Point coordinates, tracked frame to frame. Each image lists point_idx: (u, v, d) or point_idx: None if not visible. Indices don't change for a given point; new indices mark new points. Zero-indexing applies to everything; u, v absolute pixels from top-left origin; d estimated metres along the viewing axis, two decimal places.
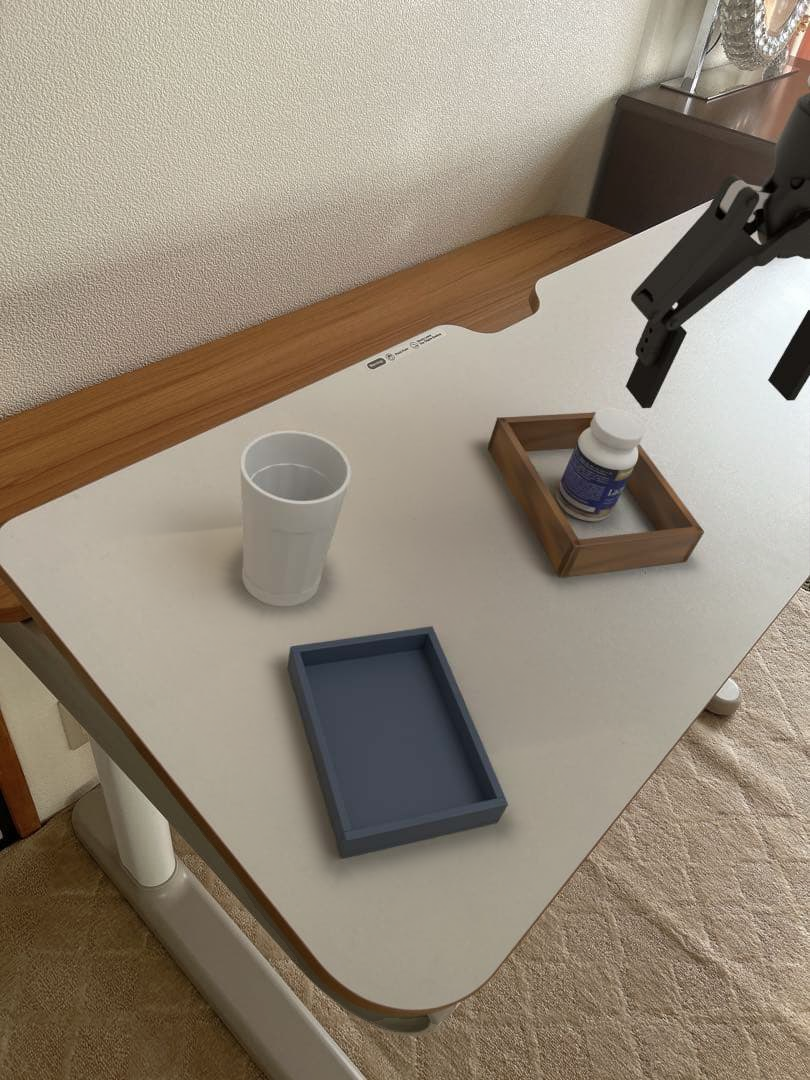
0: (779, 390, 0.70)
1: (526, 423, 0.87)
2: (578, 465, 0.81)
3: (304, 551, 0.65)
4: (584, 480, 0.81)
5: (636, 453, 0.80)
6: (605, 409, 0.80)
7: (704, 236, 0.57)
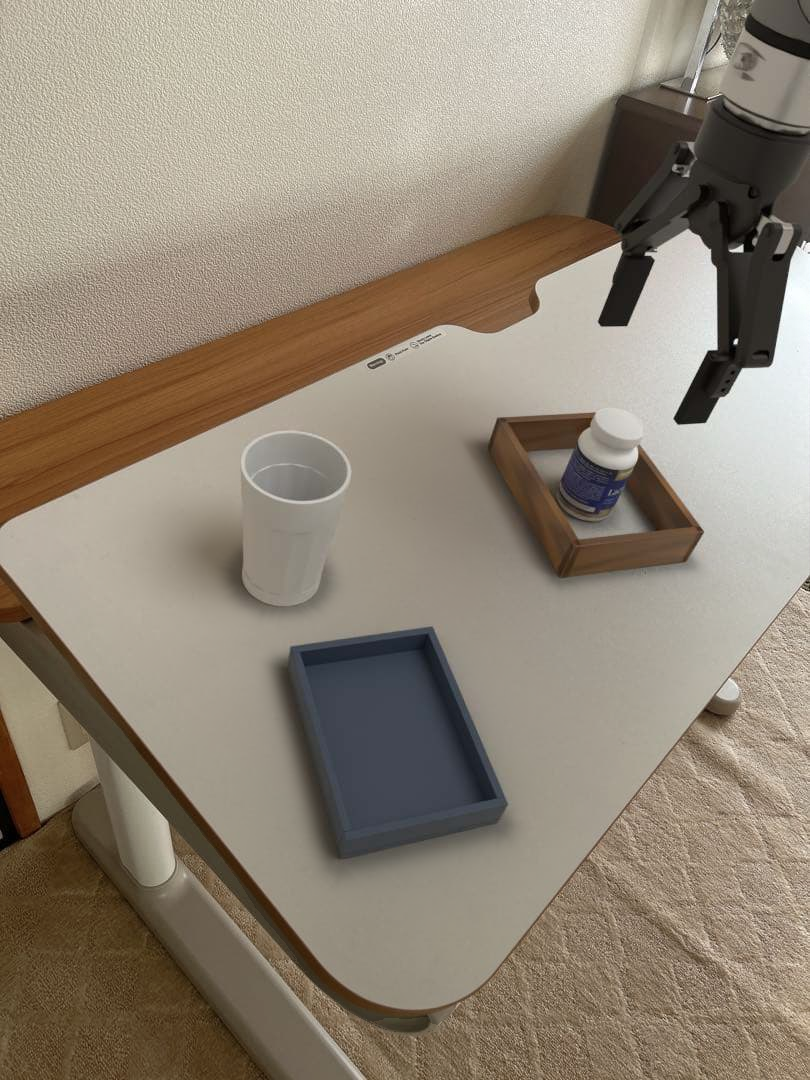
0: (616, 325, 0.79)
1: (526, 423, 0.87)
2: (578, 465, 0.81)
3: (304, 551, 0.65)
4: (584, 480, 0.81)
5: (636, 453, 0.80)
6: (605, 409, 0.80)
7: (776, 281, 0.61)
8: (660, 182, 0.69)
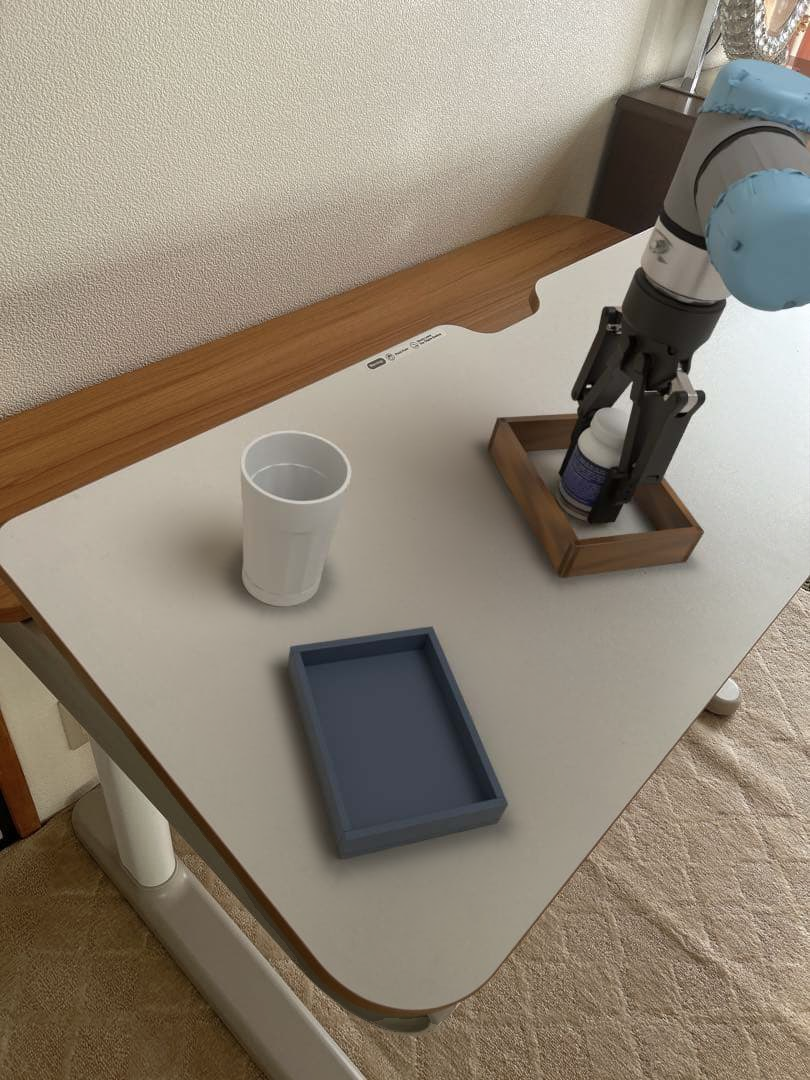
0: None
1: (526, 423, 0.87)
2: (578, 465, 0.81)
3: (304, 551, 0.65)
4: (584, 480, 0.81)
5: None
6: (605, 409, 0.80)
7: (675, 430, 0.72)
8: (600, 343, 0.79)
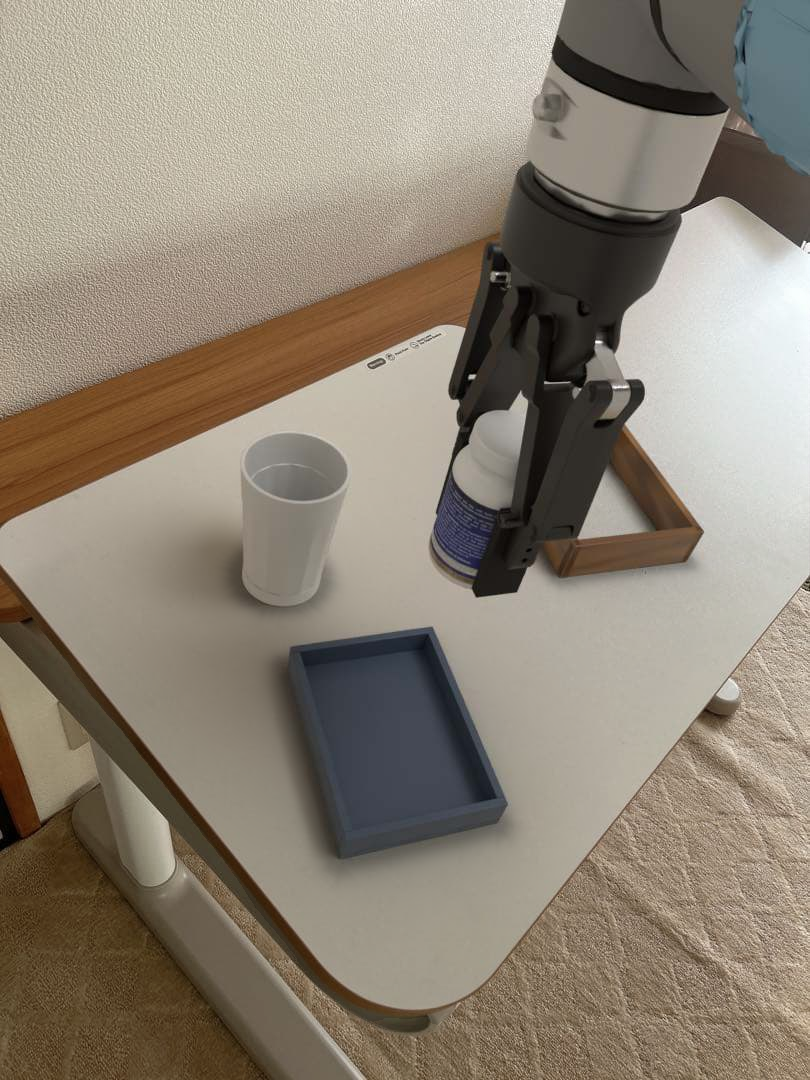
0: None
1: None
2: (452, 504, 0.50)
3: (304, 551, 0.65)
4: (462, 528, 0.50)
5: None
6: (495, 413, 0.49)
7: (596, 450, 0.41)
8: (482, 305, 0.48)
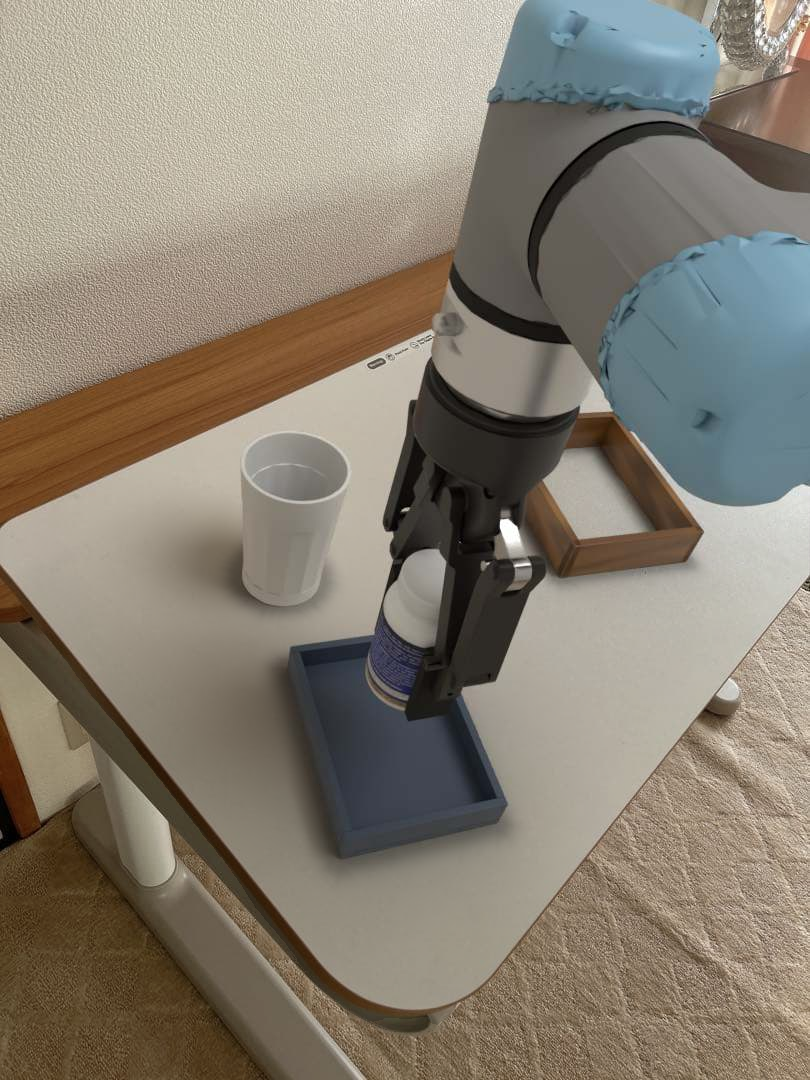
0: None
1: None
2: (383, 637, 0.53)
3: (304, 551, 0.65)
4: (393, 660, 0.53)
5: None
6: (422, 553, 0.52)
7: (505, 614, 0.44)
8: (408, 455, 0.50)
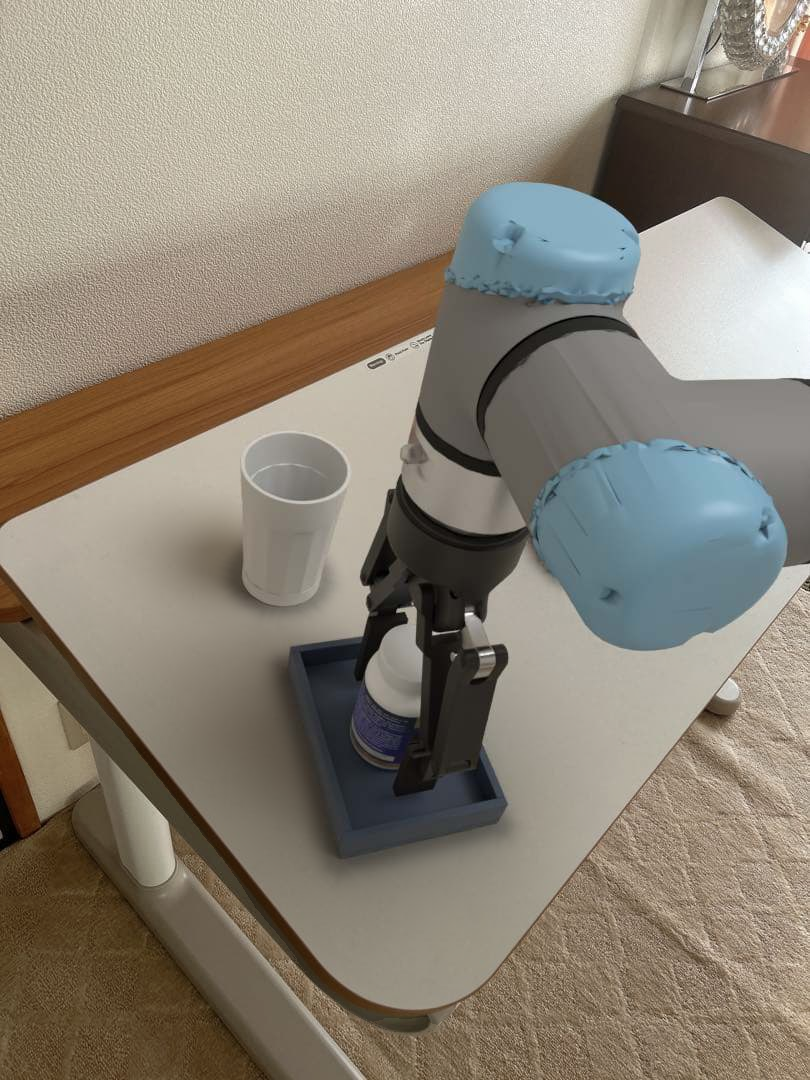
0: None
1: None
2: (365, 704, 0.58)
3: (304, 551, 0.65)
4: (373, 725, 0.58)
5: None
6: (400, 628, 0.57)
7: (477, 701, 0.48)
8: (385, 534, 0.55)
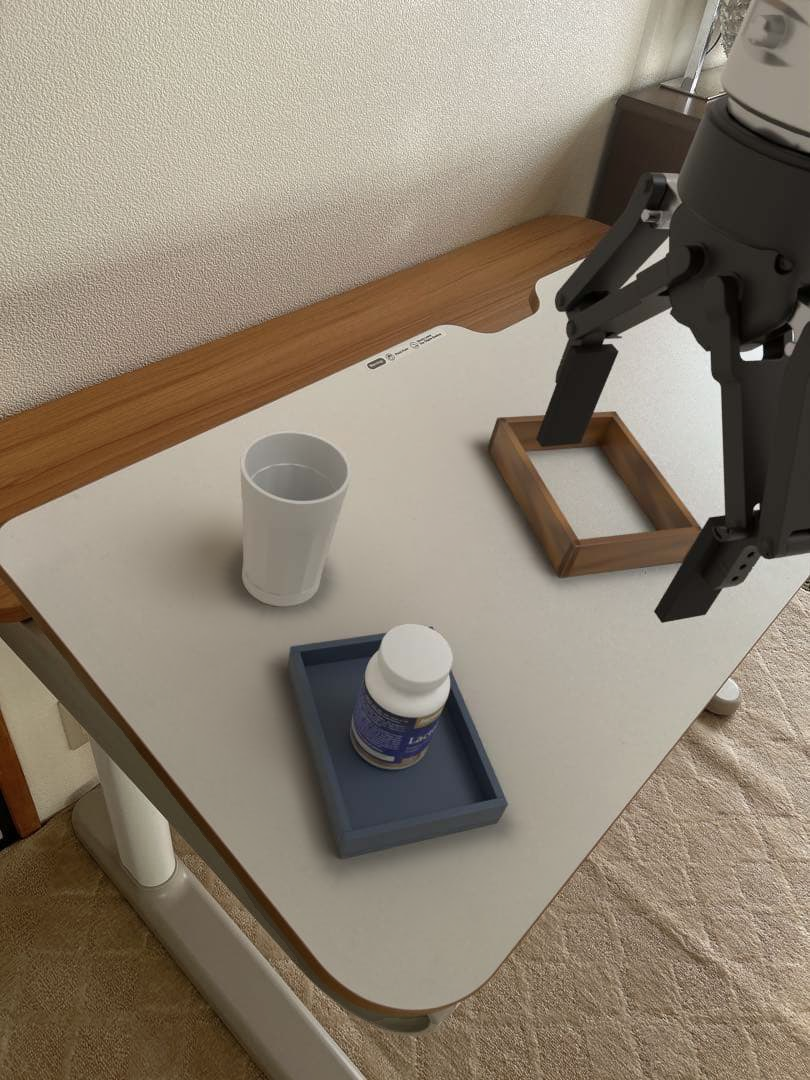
0: (564, 443, 0.53)
1: (526, 423, 0.87)
2: (365, 704, 0.58)
3: (304, 551, 0.65)
4: (373, 725, 0.58)
5: (444, 690, 0.57)
6: (400, 628, 0.57)
7: None
8: (623, 237, 0.43)
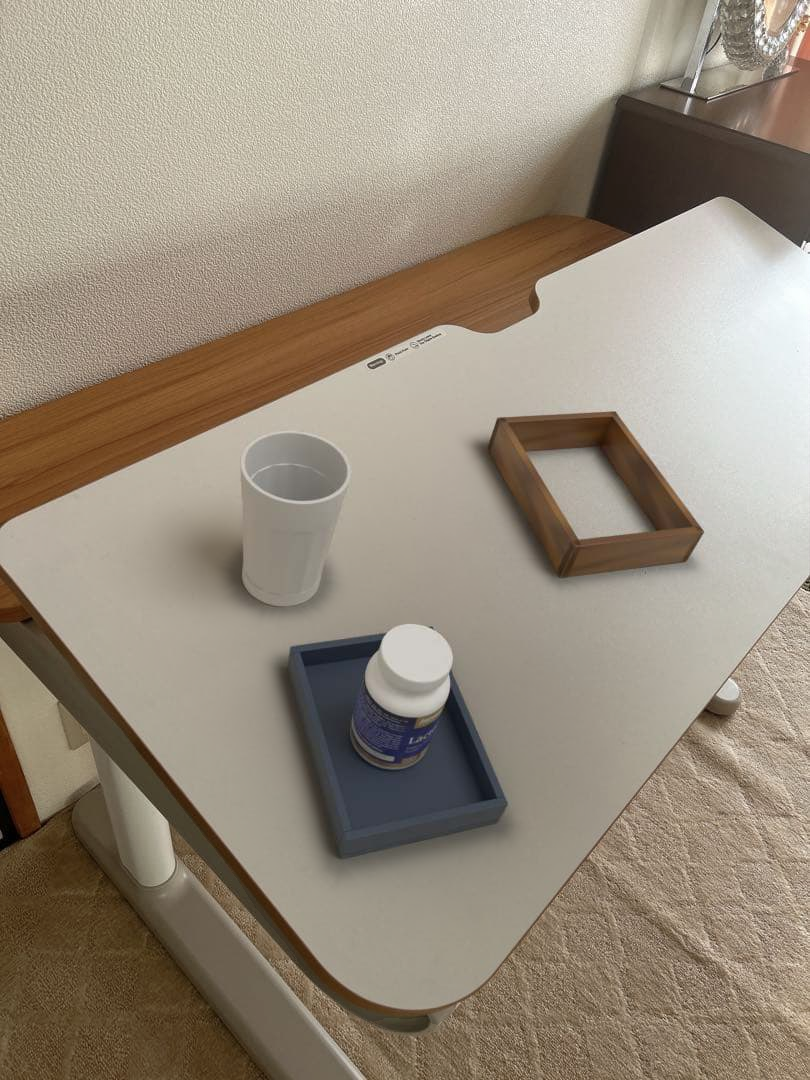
0: None
1: (526, 423, 0.87)
2: (365, 704, 0.58)
3: (304, 551, 0.65)
4: (373, 725, 0.58)
5: (444, 690, 0.57)
6: (400, 628, 0.57)
7: None
8: None
